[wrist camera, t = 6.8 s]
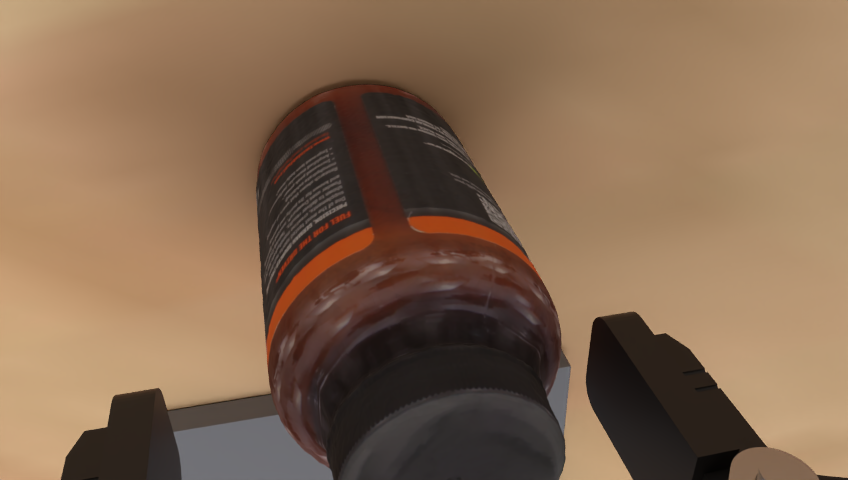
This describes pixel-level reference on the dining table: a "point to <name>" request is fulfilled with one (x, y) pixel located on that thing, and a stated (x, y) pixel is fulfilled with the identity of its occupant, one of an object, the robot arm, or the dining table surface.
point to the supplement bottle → (400, 300)
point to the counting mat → (269, 439)
